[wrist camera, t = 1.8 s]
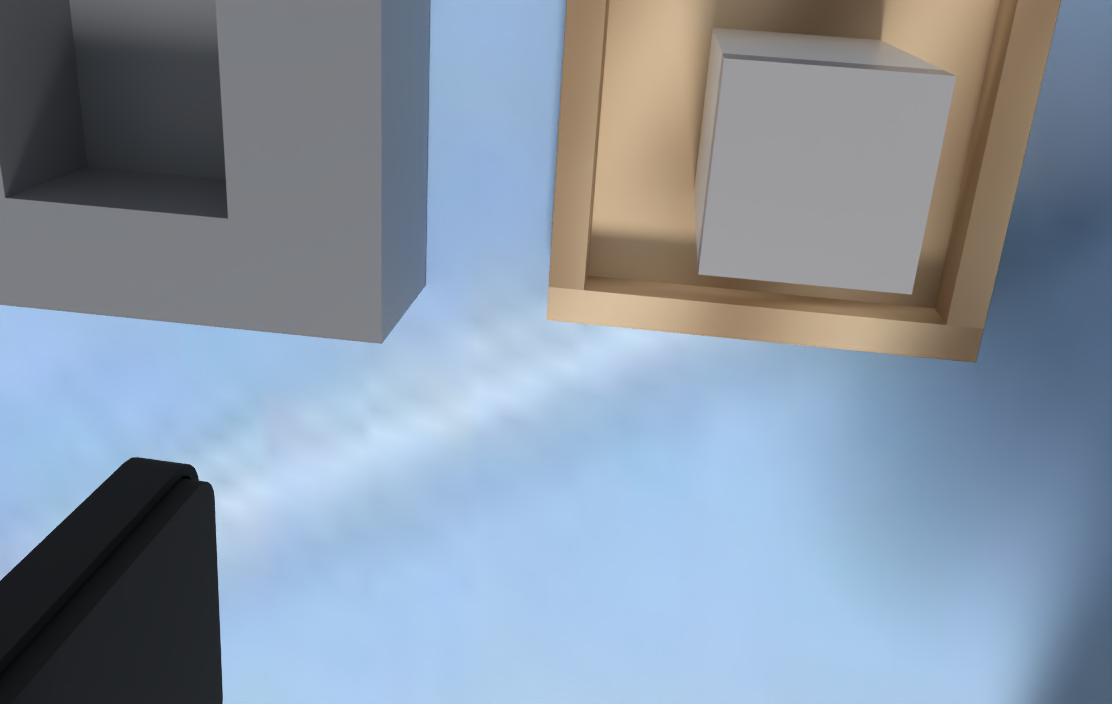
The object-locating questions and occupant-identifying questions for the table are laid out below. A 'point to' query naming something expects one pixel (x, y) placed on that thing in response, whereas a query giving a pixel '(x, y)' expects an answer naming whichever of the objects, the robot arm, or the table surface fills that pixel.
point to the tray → (672, 152)
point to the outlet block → (216, 161)
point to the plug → (817, 159)
